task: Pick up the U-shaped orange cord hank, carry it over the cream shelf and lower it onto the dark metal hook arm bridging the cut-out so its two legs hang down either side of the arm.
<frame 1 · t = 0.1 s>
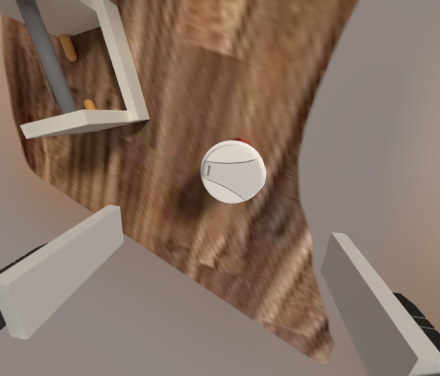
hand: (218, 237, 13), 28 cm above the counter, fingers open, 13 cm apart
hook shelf: (102, 76, 38), on the counter
coffee cup: (238, 154, 39), on the counter
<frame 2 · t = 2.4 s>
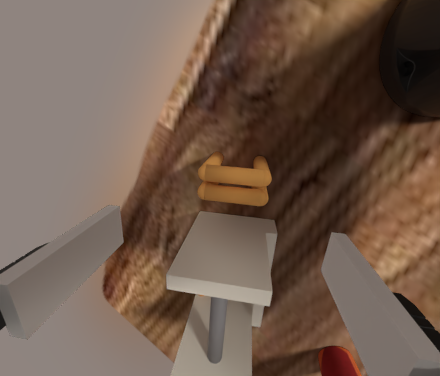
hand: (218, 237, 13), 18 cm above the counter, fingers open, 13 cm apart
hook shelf: (227, 261, 35), on the counter
coffee cup: (334, 355, 39), on the counter
cord hank: (237, 167, 30), on the counter
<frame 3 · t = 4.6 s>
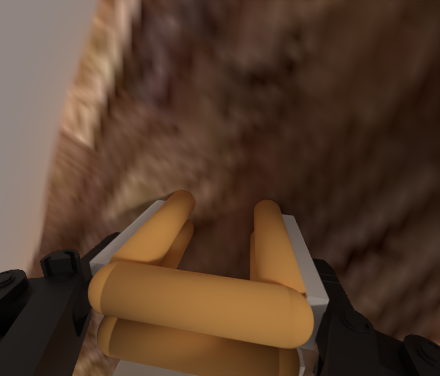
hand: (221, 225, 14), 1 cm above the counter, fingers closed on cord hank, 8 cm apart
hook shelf: (209, 365, 21), on the counter
cord hank: (222, 220, 15), on the counter, touching gripper
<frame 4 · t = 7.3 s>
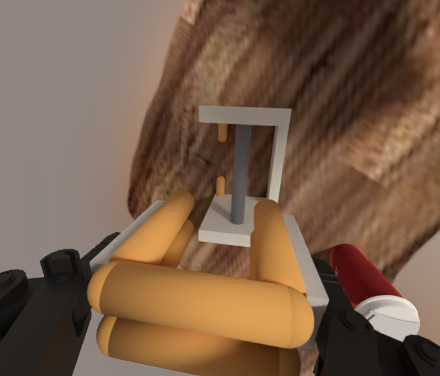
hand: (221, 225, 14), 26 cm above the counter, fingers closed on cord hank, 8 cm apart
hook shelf: (243, 160, 38), on the counter
coffee cup: (344, 255, 42), on the counter
cord hank: (222, 219, 15), point 25 cm above the counter, touching gripper
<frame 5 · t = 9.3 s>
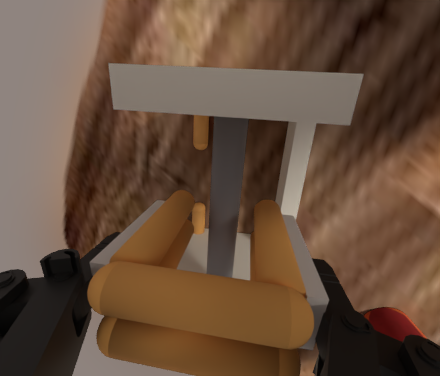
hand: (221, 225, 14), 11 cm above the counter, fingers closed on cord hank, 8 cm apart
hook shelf: (234, 179, 24), on the counter
coffee cup: (383, 322, 28), on the counter
cord hank: (222, 220, 15), point 10 cm above the counter, touching gripper
when the fingers open (7 cm above the counter, at t = 10.5 s): cord hank drops 1 cm, resting on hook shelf.
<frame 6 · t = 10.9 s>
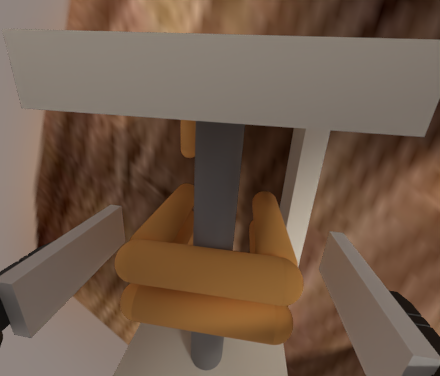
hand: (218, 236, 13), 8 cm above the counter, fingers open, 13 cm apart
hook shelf: (230, 191, 21), on the counter
cord hank: (224, 210, 16), point 4 cm above the counter, touching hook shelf
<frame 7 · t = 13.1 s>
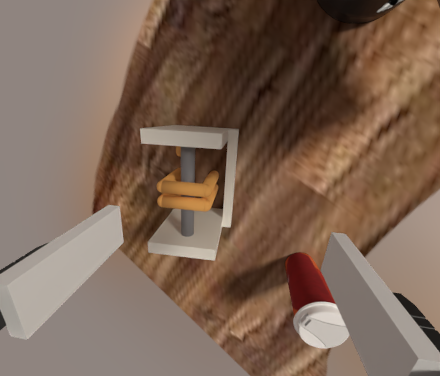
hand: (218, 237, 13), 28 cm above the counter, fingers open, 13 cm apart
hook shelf: (201, 173, 41), on the counter
coffee cup: (299, 263, 45), on the counter
cord hank: (196, 180, 36), point 4 cm above the counter, touching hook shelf
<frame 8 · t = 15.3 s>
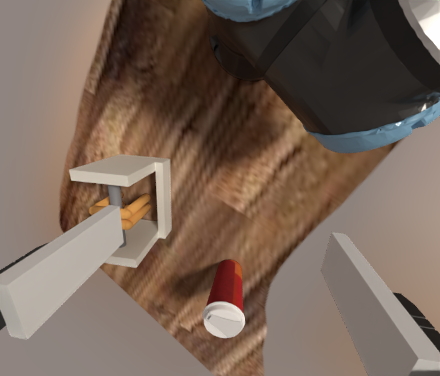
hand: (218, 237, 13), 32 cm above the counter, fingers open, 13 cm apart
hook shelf: (143, 193, 49), on the counter
coffee cup: (230, 268, 53), on the counter
cord hank: (133, 200, 45), point 5 cm above the counter, touching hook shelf
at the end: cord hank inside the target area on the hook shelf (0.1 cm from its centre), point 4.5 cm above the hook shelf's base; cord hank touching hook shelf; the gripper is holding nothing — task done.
